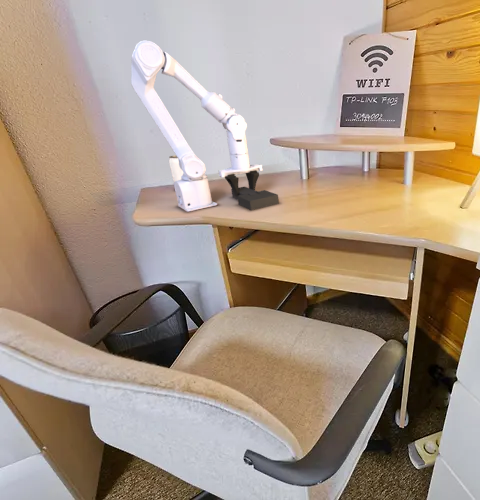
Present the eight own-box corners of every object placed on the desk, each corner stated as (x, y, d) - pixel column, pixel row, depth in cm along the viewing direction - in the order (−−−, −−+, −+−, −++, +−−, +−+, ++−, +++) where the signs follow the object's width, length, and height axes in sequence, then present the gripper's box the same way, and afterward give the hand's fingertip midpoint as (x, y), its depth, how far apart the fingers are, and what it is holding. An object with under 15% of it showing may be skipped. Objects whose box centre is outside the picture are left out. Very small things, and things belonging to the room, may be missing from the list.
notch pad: (251, 210, 97) (249, 201, 96) (238, 204, 102) (237, 195, 101) (278, 203, 104) (278, 194, 102) (265, 198, 109) (264, 189, 107)
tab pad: (248, 204, 102) (247, 195, 101) (232, 197, 110) (231, 189, 108) (262, 201, 106) (261, 192, 104) (245, 194, 113) (244, 186, 112)
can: (198, 187, 122) (191, 154, 117) (188, 191, 116) (181, 158, 111) (182, 186, 123) (174, 154, 117) (172, 191, 117) (163, 157, 112)
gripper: (252, 149, 109) (257, 188, 115) (211, 154, 100) (219, 196, 106) (263, 152, 105) (268, 192, 111) (221, 157, 95) (229, 201, 101)
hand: (245, 194), depth 108 cm, fingers closed on tab pad, 5 cm apart
